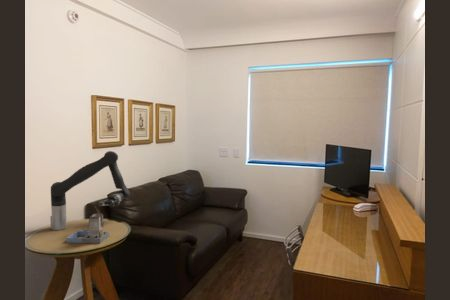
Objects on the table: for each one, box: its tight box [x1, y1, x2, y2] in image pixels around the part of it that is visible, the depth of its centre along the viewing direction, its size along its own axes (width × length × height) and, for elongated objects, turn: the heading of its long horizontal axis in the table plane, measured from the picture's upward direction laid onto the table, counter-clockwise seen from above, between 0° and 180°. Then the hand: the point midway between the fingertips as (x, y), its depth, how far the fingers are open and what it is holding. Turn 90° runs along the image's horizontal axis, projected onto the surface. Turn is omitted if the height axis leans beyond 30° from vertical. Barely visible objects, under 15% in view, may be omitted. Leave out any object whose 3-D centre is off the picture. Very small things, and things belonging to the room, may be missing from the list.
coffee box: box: [88, 213, 105, 238], centre depth 198 cm, size 9×6×16 cm
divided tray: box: [66, 229, 110, 244], centre depth 198 cm, size 22×13×4 cm, turn 86°
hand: (104, 205), depth 208 cm, fingers open, 8 cm apart
